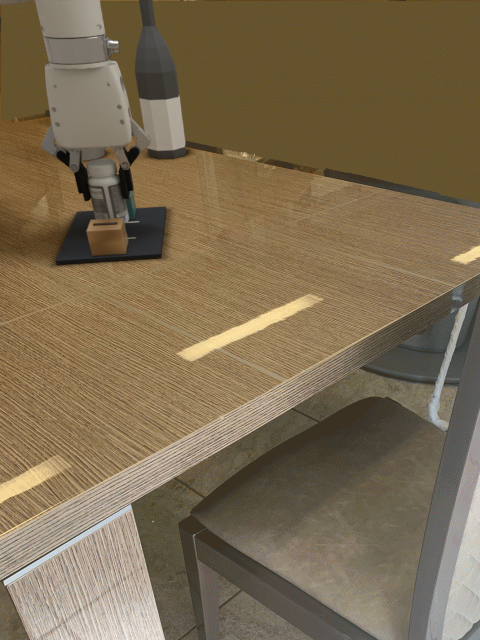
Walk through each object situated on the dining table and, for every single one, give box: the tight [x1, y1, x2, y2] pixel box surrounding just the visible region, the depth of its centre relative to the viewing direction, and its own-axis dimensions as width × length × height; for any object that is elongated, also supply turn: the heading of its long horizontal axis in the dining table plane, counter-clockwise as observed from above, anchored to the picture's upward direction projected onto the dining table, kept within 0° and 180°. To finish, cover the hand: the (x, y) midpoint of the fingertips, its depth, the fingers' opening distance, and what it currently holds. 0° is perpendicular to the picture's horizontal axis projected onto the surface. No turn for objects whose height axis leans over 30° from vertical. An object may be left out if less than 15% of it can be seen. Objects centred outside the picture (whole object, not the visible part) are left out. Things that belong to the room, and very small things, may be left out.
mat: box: [55, 206, 167, 266], centre depth 95 cm, size 14×20×1 cm
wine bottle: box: [134, 0, 187, 160], centre depth 123 cm, size 8×8×30 cm
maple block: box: [86, 218, 128, 256], centre depth 89 cm, size 4×4×4 cm
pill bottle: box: [85, 158, 129, 223], centre depth 92 cm, size 5×5×8 cm
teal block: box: [125, 190, 137, 219], centre depth 100 cm, size 4×4×4 cm
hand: (107, 195), depth 92 cm, fingers closed on pill bottle, 4 cm apart
